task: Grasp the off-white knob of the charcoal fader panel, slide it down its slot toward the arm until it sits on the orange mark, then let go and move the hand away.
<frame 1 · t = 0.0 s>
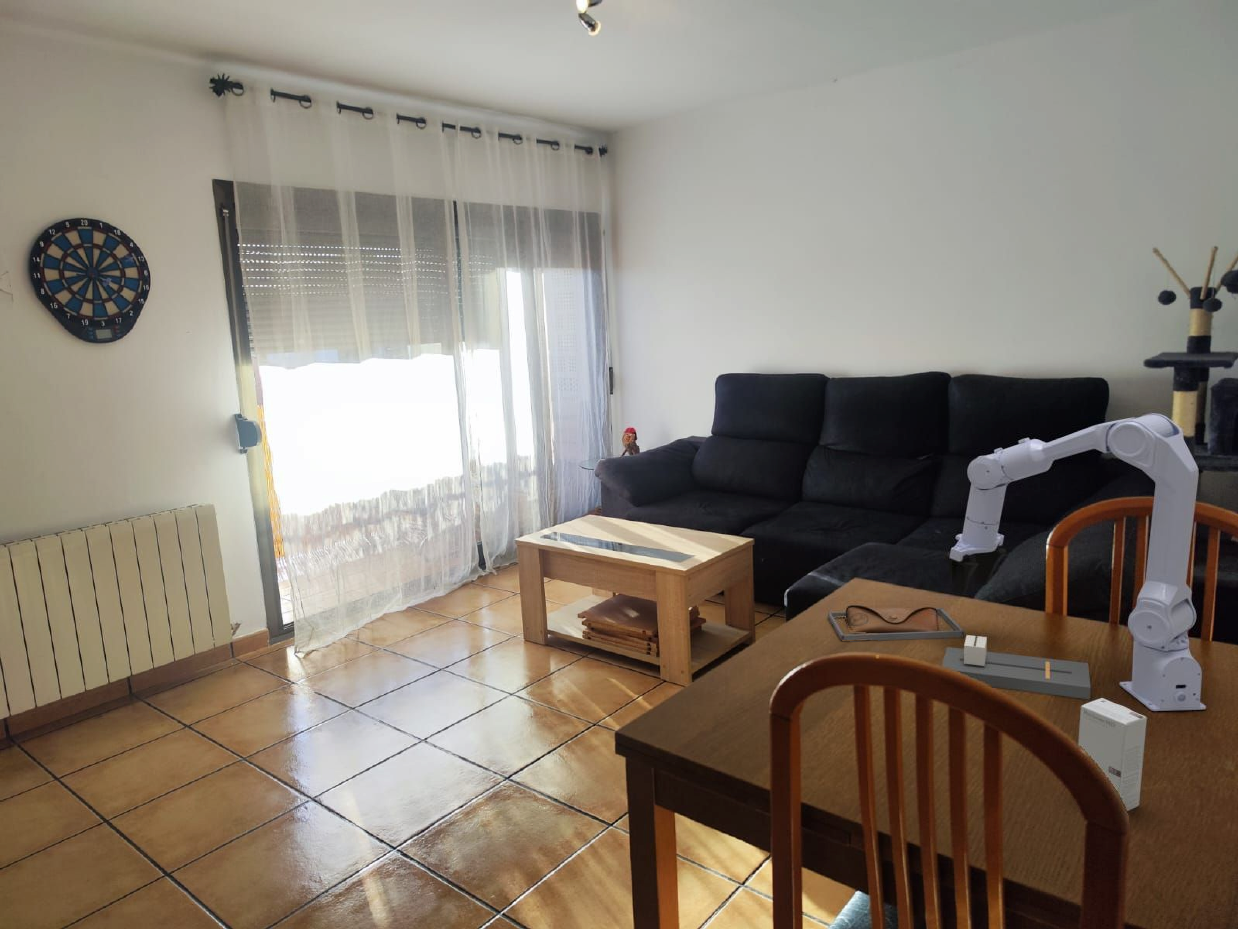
hand: (969, 587, 154), 11 cm above the table, tool pointing down, fingers open, 7 cm apart
fader: (975, 650, 142), point 4 cm above the table, slide at 6.0 cm
case rim: (893, 627, 165), on the table
fader panel: (1013, 677, 140), on the table
skincare box: (1107, 801, 105), on the table
sunglasses case: (893, 631, 165), on the table
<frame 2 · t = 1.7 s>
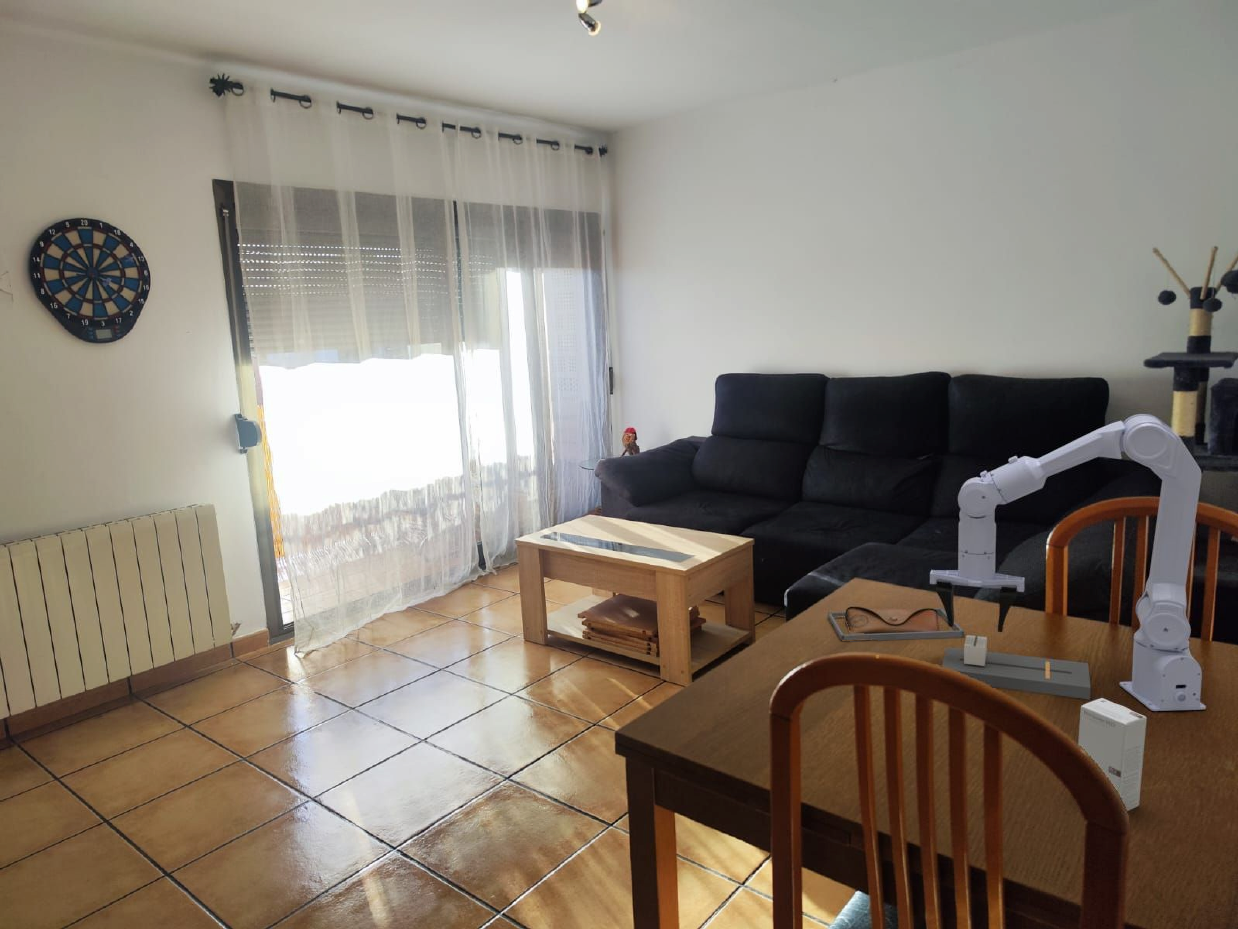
hand: (975, 627, 142), 8 cm above the table, tool pointing down, fingers open, 7 cm apart
nothing on the table moved.
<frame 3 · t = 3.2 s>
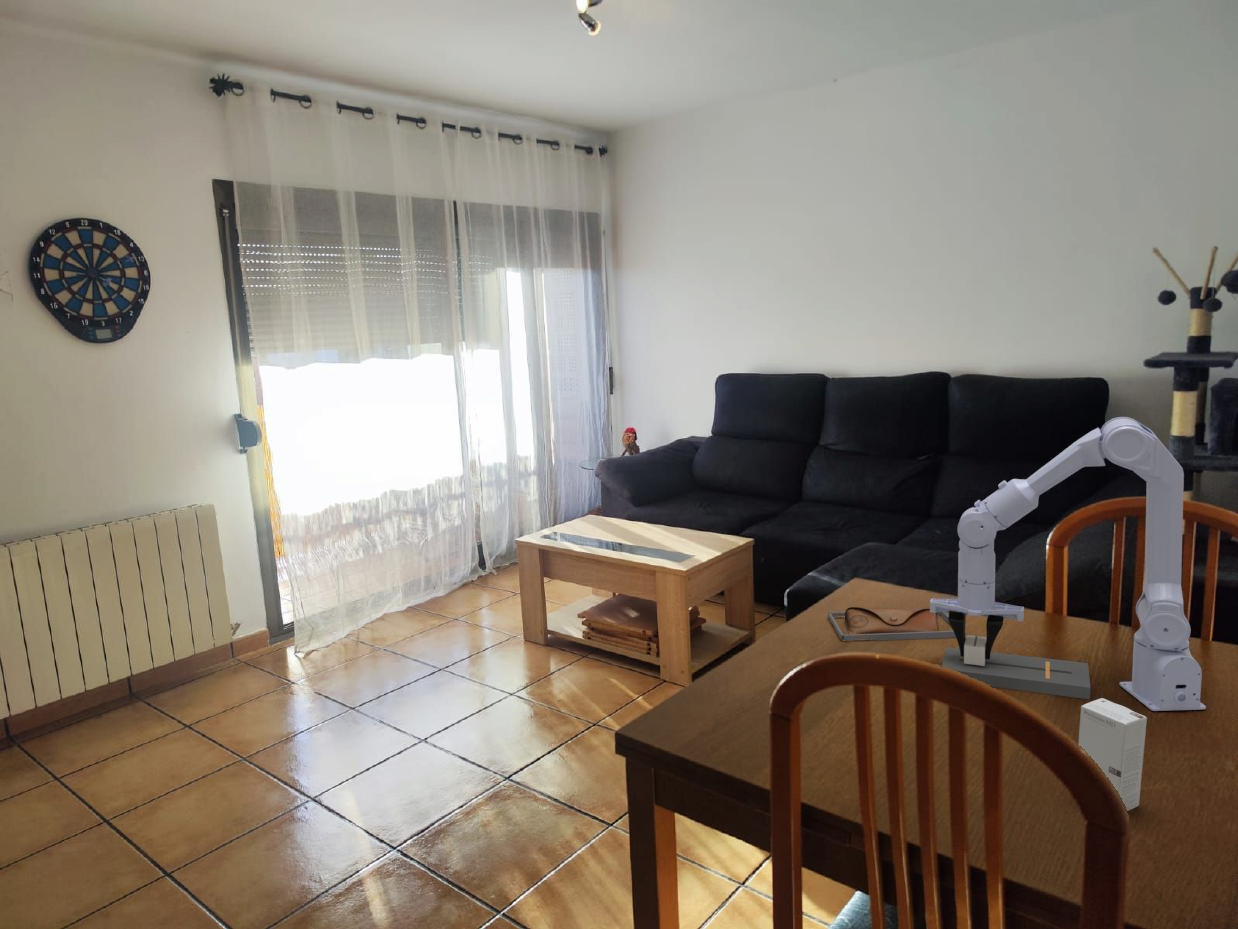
hand: (975, 655, 143), 3 cm above the table, tool pointing down, fingers closed on fader, 3 cm apart
fader: (975, 650, 142), point 4 cm above the table, slide at 6.0 cm, touching gripper
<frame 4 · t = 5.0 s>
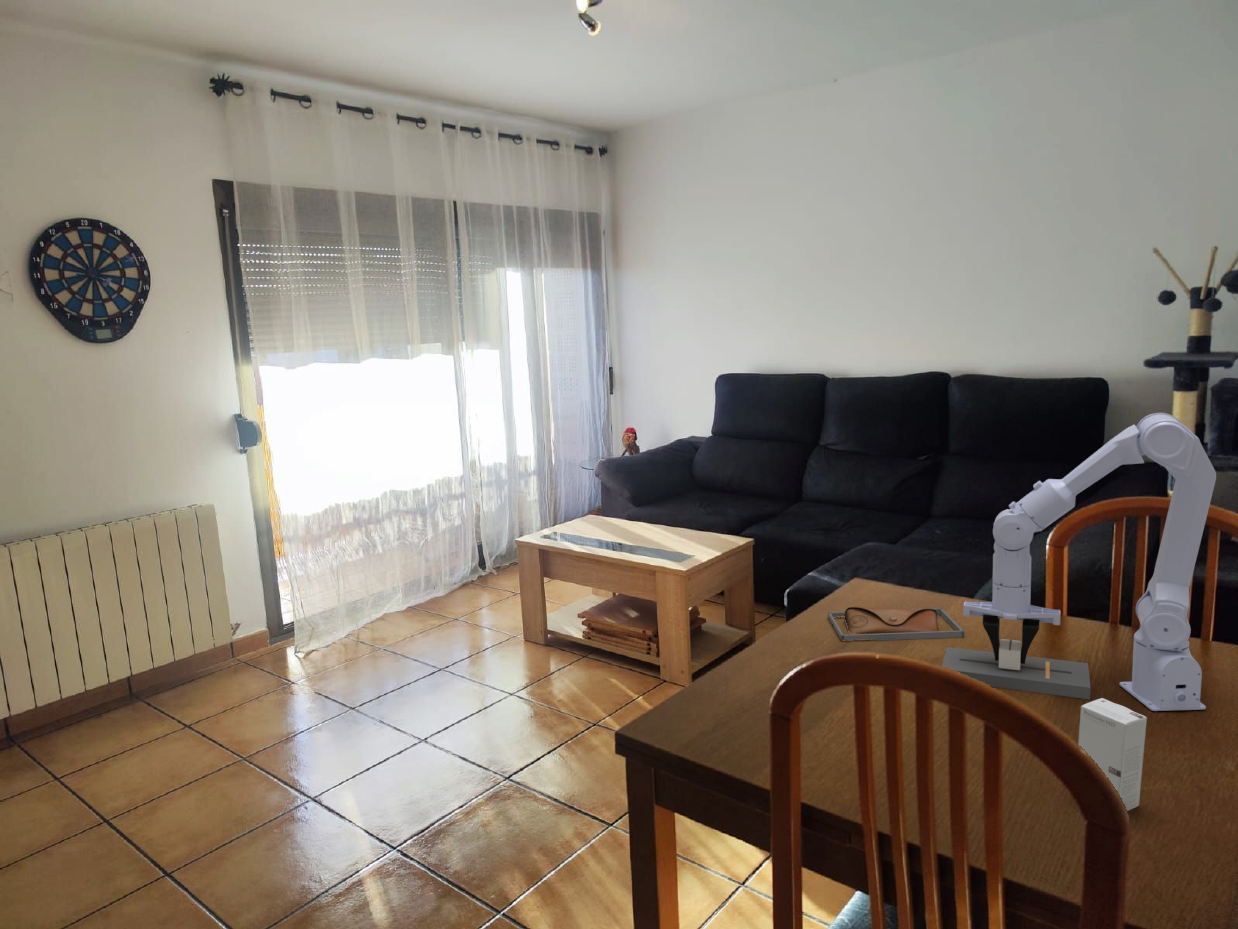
hand: (1010, 660, 140), 3 cm above the table, tool pointing down, fingers closed on fader, 3 cm apart
fader: (1010, 654, 140), point 4 cm above the table, slide at 0.6 cm, touching gripper
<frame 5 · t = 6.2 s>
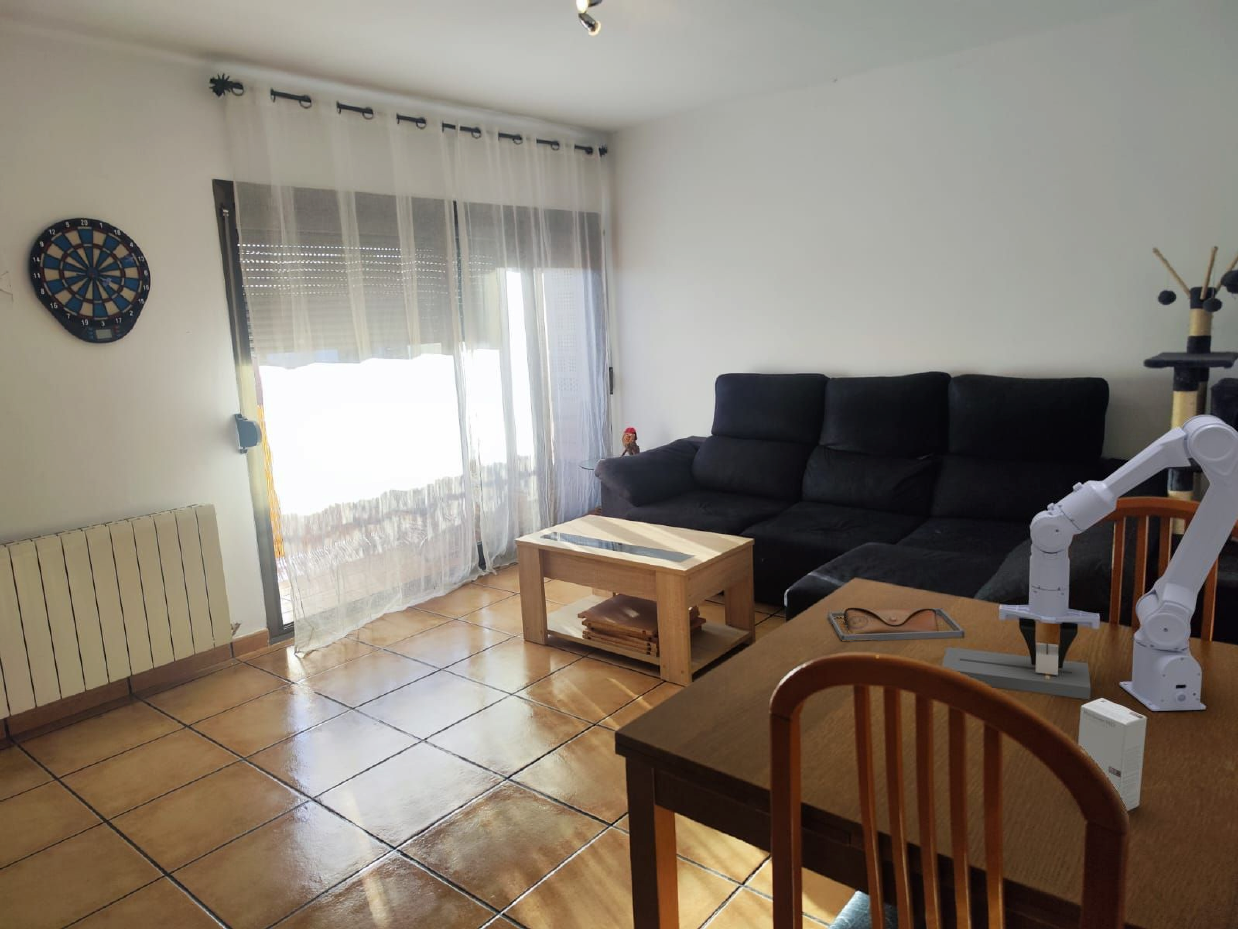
hand: (1046, 664, 138), 3 cm above the table, tool pointing down, fingers closed on fader, 3 cm apart
fader: (1046, 658, 138), point 4 cm above the table, slide at -4.9 cm, touching gripper
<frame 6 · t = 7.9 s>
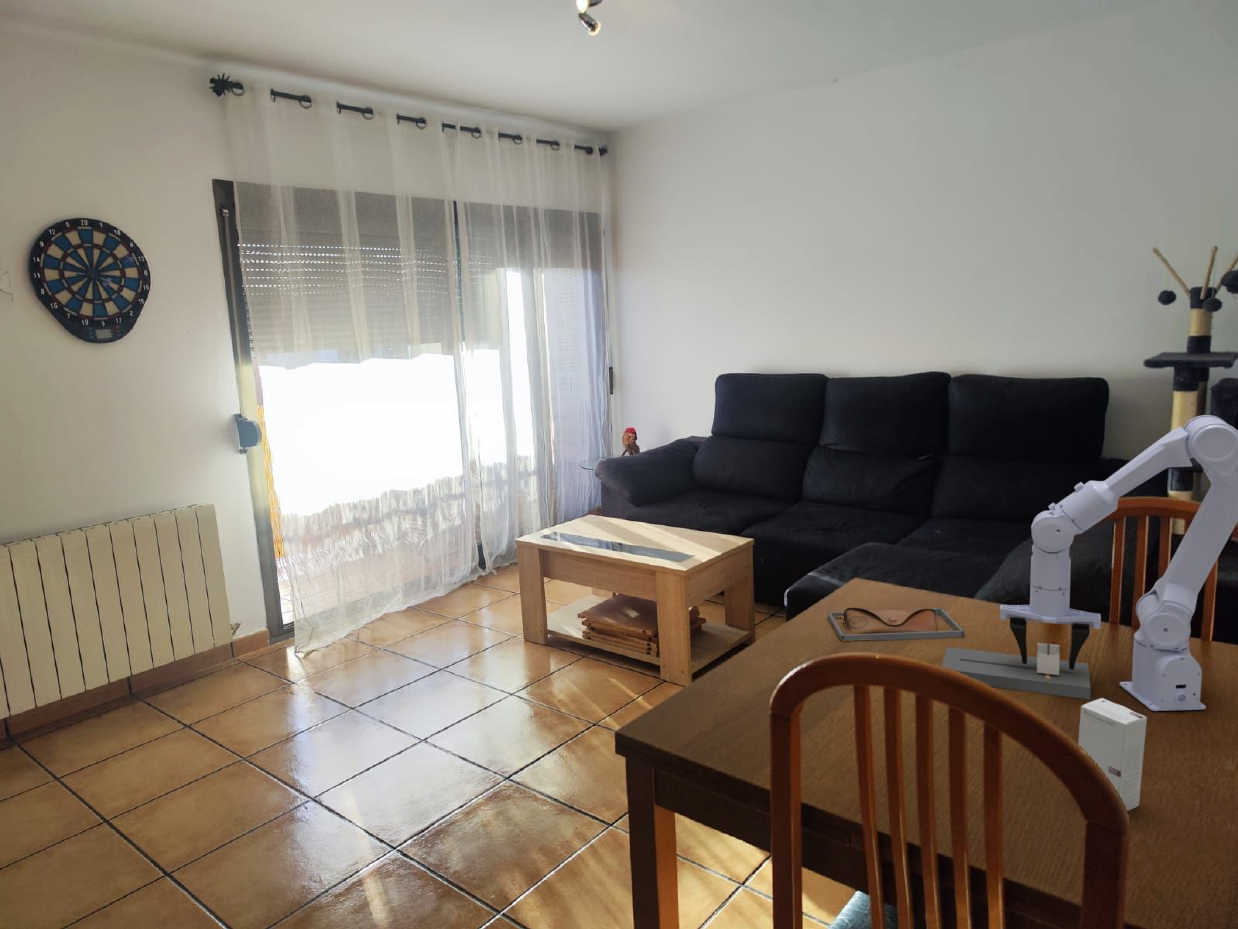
hand: (1047, 664, 138), 3 cm above the table, tool pointing down, fingers open, 6 cm apart
fader: (1048, 658, 137), point 4 cm above the table, slide at -5.0 cm
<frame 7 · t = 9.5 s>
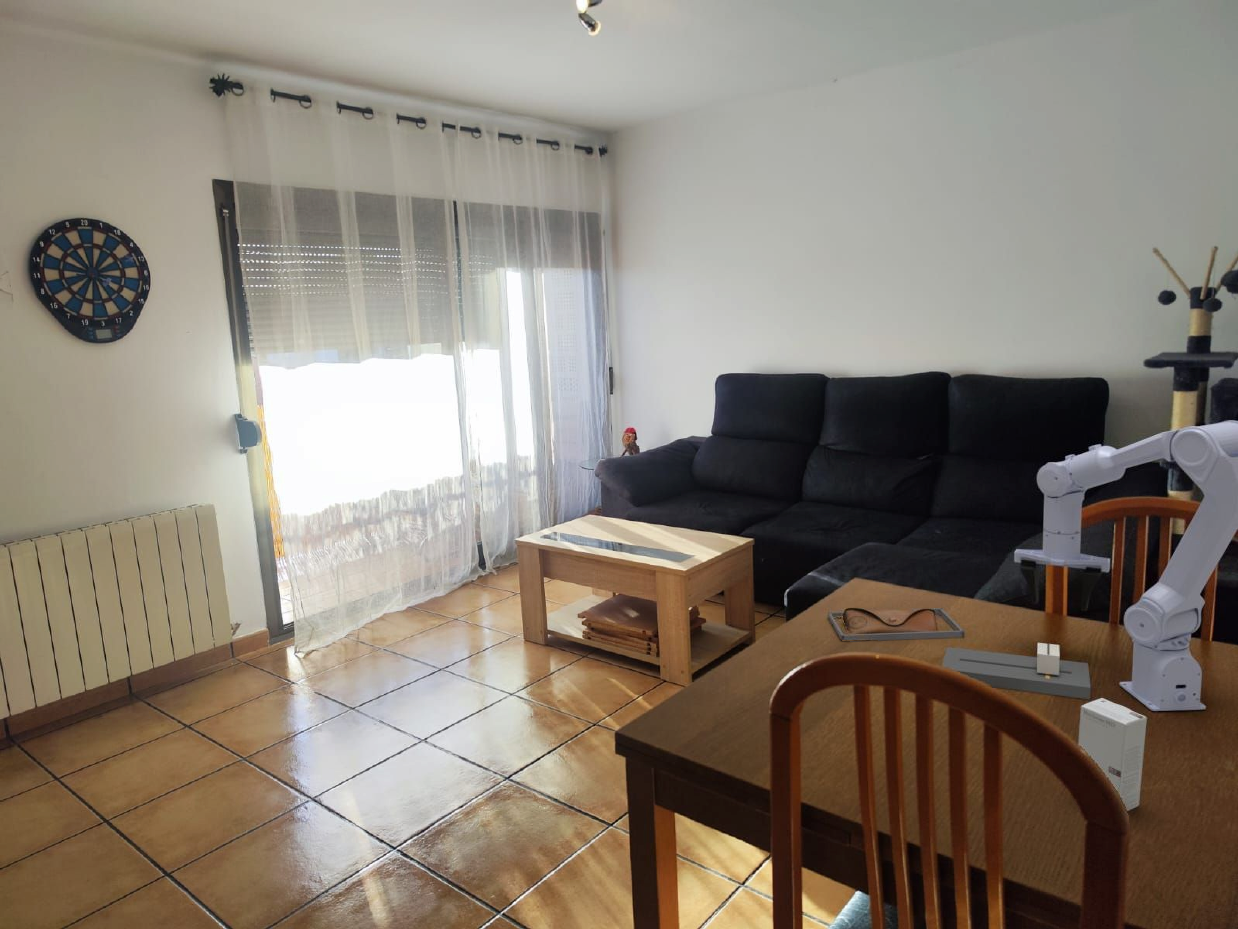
hand: (1059, 606, 146), 9 cm above the table, tool pointing down, fingers open, 7 cm apart
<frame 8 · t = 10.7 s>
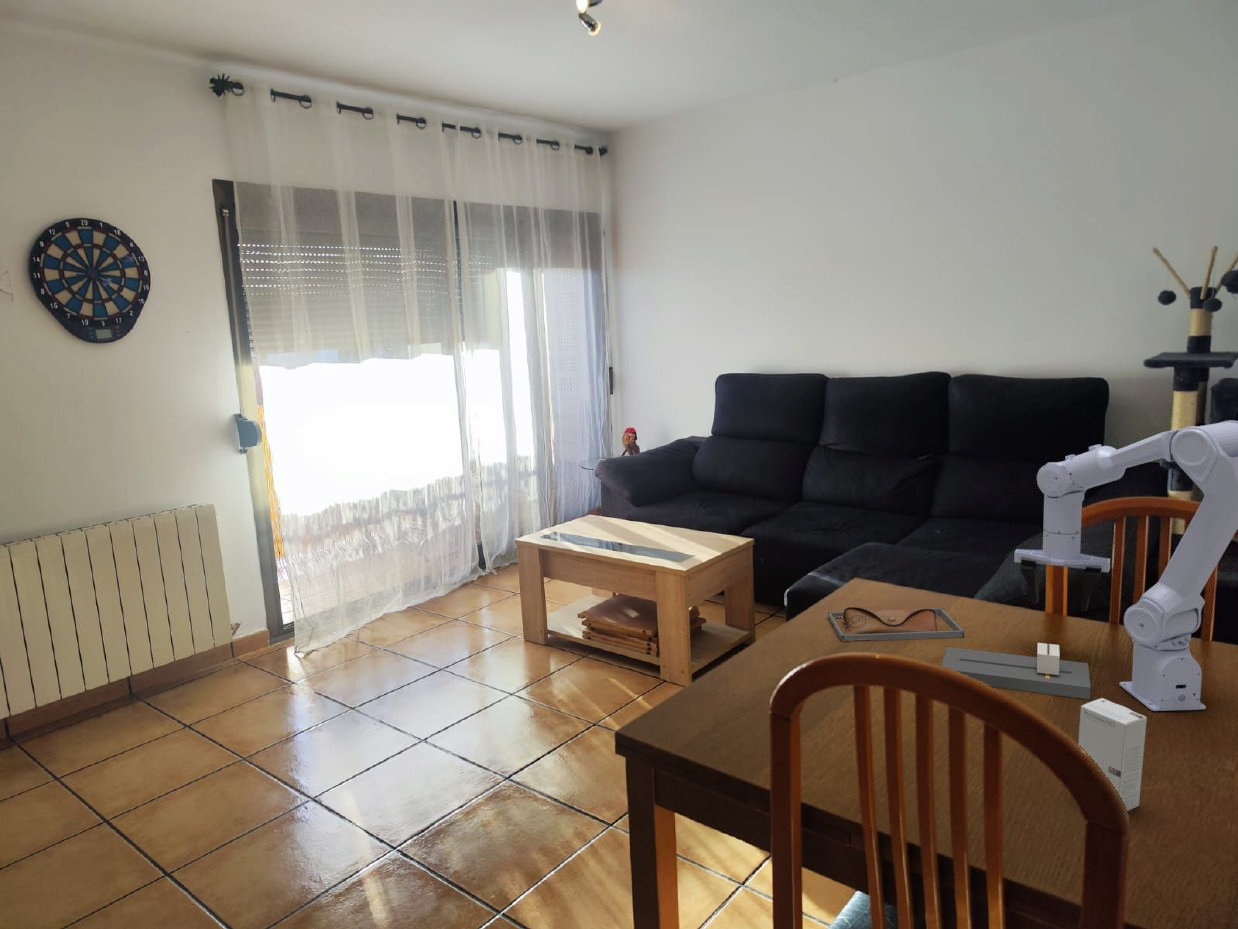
hand: (1059, 606, 146), 9 cm above the table, tool pointing down, fingers open, 7 cm apart
at the end: fader slide at -5.0 cm; skincare box moved 0.2 cm from its start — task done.
